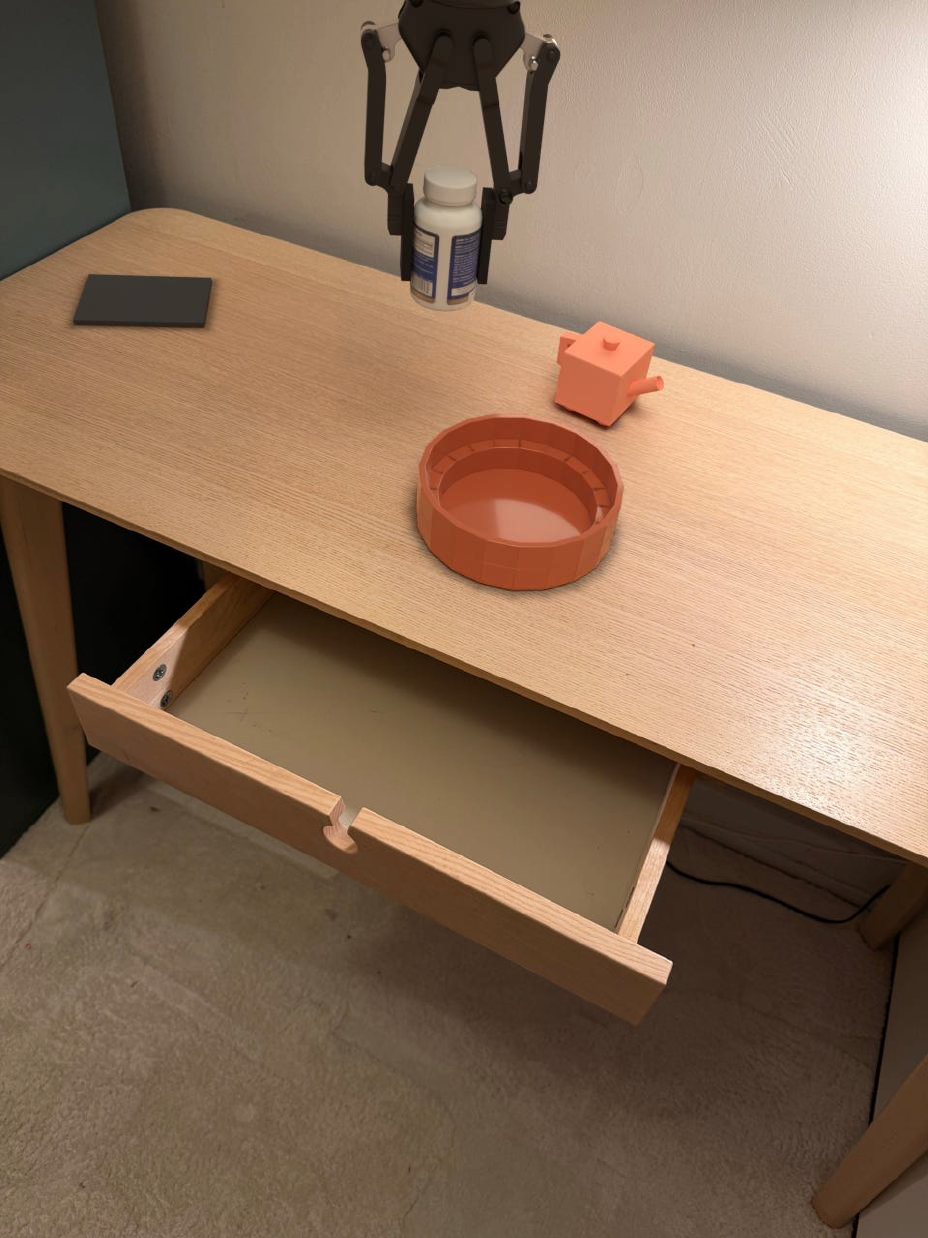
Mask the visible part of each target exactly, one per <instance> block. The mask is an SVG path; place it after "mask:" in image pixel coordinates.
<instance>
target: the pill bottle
mask: <svg viewBox="0 0 928 1238" xmlns="http://www.w3.org/2000/svg"><path fill="white" fill-rule="evenodd" d="M422 185H423V186H422V192H423V193H422V194H423V196H422V197H420V198H419V199H418V200H417V201H416V202H415V203H414V220H413V241H412V262H411V281H409V294H410V297H411V298H412V300H413V301H414V302H415V303H416V304H418V305H420V307H422V308H425V309H428V310H432V311H435V312H448V313H449V312H456V311H457V312H458V311H460V310H463V309H466V308H467V307H469V306H471V304H472V303H473V302H474V299H475V295H476V287H477V269H478V259H479V249H480V239H481V230H482V220H483V215H482V210H481V206H480V205H479V204H478V202H476V201H475V200H476V198H477V193H478V192H477V191H478V176H477V175H476V173H475V172H474V171H473V170H470V169H469V168H466V167H463V166H459V165H454V164H440V165H433V166H431V167H429V168H427V169H426V170H425V172H424V174H423V184H422Z"/></svg>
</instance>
